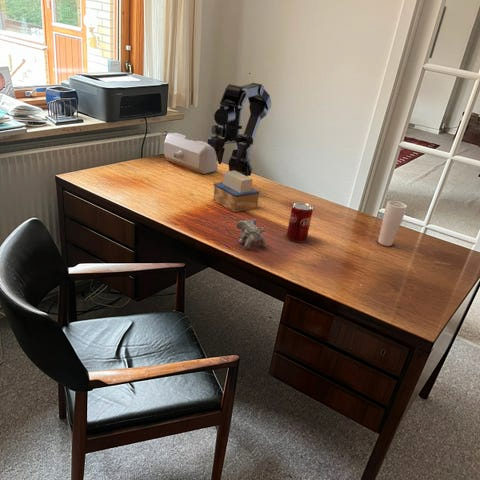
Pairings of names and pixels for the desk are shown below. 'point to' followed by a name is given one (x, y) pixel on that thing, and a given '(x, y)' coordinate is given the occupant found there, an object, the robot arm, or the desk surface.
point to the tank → (190, 153)
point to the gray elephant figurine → (250, 232)
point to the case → (237, 181)
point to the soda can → (299, 222)
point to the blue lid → (233, 192)
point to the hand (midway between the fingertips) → (228, 162)
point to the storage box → (235, 200)
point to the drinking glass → (391, 222)
